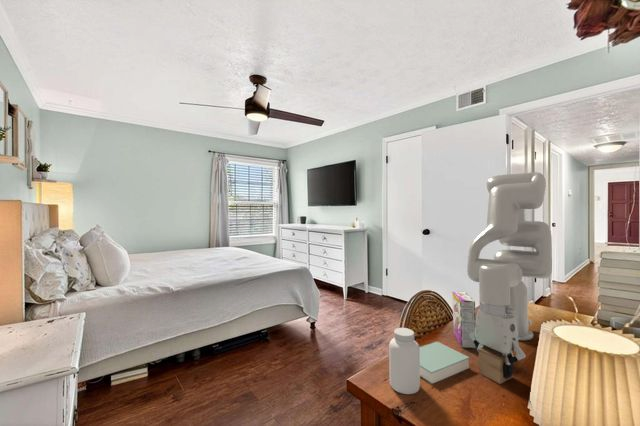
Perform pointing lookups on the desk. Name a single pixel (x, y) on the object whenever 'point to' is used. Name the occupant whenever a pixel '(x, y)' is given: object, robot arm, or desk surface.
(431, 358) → the book
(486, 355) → the walnut block
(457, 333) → the candy bar box
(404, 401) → the desk surface
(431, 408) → the desk surface
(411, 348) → the pill bottle
